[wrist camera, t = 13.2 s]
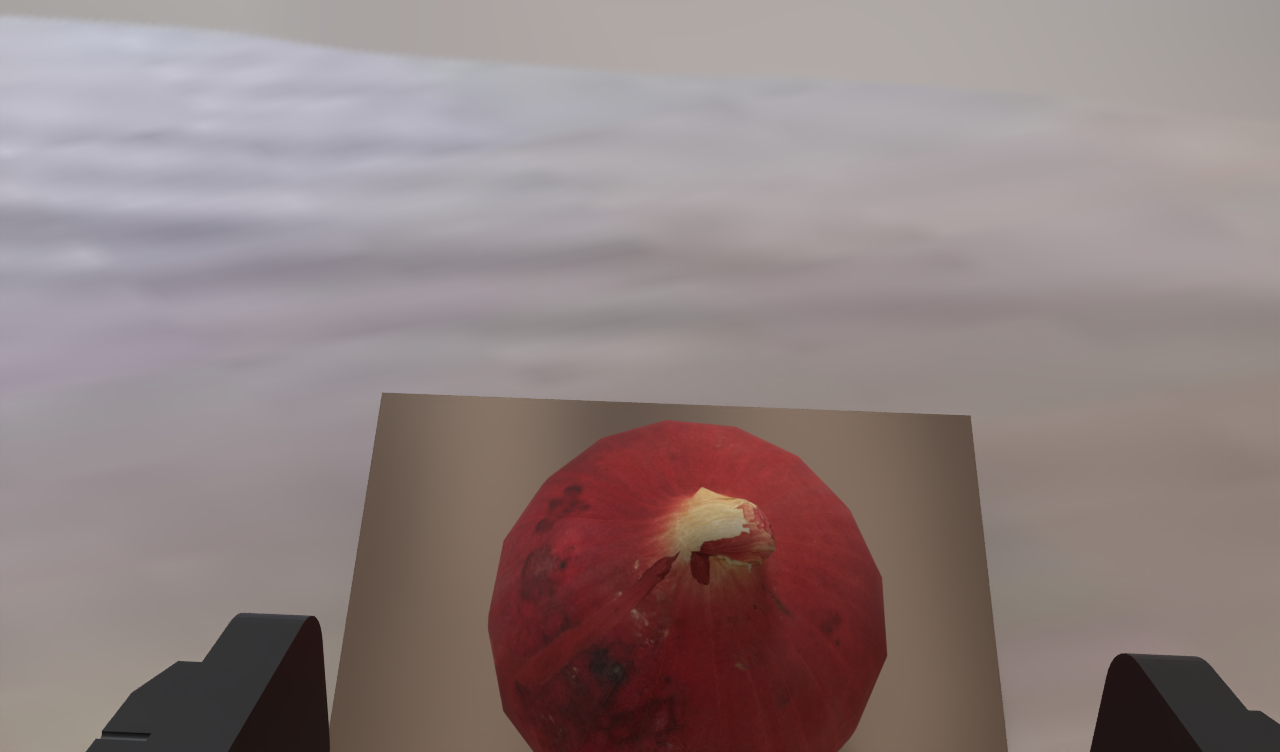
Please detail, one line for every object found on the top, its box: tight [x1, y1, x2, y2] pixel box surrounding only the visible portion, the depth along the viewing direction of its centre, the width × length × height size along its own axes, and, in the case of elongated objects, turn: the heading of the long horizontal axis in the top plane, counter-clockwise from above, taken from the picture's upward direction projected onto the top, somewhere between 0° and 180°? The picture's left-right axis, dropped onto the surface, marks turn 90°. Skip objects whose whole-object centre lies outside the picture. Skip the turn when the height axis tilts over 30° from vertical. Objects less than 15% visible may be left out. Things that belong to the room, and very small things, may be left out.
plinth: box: [329, 393, 1008, 752], centre depth 21 cm, size 12×10×4 cm
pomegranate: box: [488, 420, 887, 752], centre depth 15 cm, size 6×6×8 cm
